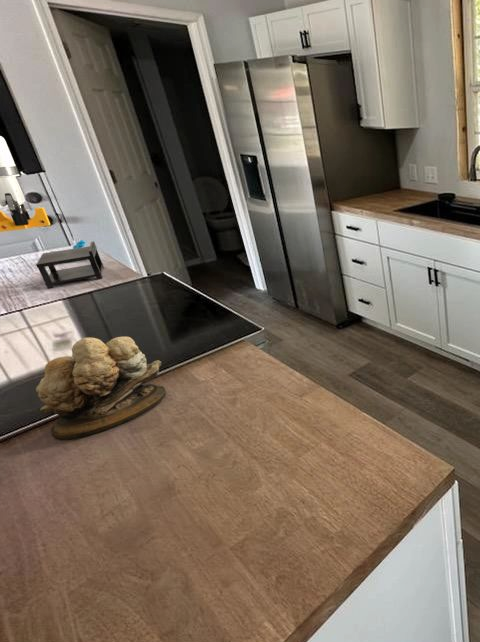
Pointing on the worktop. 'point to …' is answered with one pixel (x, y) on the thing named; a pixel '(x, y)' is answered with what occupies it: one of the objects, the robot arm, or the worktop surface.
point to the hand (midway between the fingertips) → (23, 223)
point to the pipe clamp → (40, 214)
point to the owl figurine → (98, 387)
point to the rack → (70, 273)
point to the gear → (80, 244)
